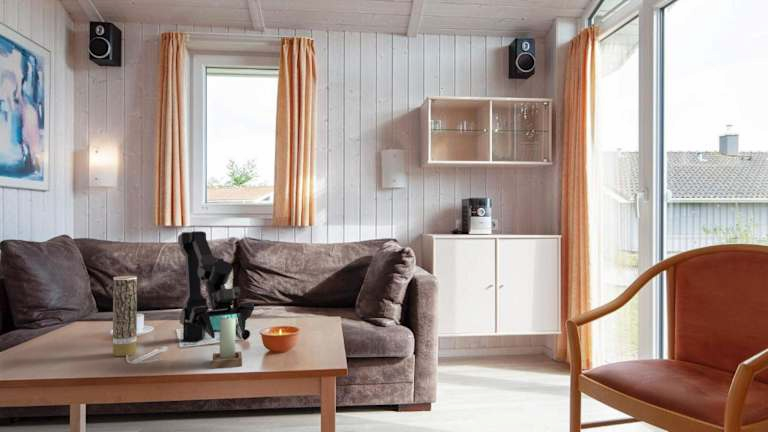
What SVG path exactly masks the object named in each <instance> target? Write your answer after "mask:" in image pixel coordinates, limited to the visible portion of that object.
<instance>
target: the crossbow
mask: <svg viewBox="0 0 768 432" xmlns="http://www.w3.org/2000/svg"><path fill="white" fill-rule="evenodd" d="M166 351H168V346H162V347H161V348H160V349H159V348H155V350H148V351H147V352H148V353H146V354H145V355H142V356H140V357H138V358H135V359H133V360H132V361H130V360H129V358H128V357H129V356H132V354H130V355H129V356H128V355H126V356H125V357H126V358H125V359H126V362H127V363H128V364H133V365H135V364H136V365H137V364H144V363H145V364H146V363H151V362H152V363H153V362H154V363H155V362H159V361H163V357H159V358H154V359H149V358H151V357H153V356H155V355H157V354H161V353H163V352H166ZM144 353H145V351H143V352H141V354H144ZM136 354H139V352H137V353H135V355H136ZM146 359H148V360H146Z"/></svg>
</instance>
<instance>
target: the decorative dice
mask: <svg viewBox="0 0 768 432" xmlns="http://www.w3.org/2000/svg"><path fill="white" fill-rule="evenodd" d="M227 316H228V318H229V317H231V318H236V319H237V320H238V317H237V314H233V315H224V316H211V317H210V322H211V324H212V327H213V330H218V331H217V332H220V319H221V318H227Z"/></svg>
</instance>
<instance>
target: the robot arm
mask: <svg viewBox="0 0 768 432" xmlns="http://www.w3.org/2000/svg"><path fill="white" fill-rule="evenodd" d="M177 244H178V245H179V250H180V252H181V253H182V254H183V255H184V257H185V258H184V259H185V274H186V276H185V277H186V293H187V297H186V298H185V300H184V302H183V303H182V309H181V312H180V315H179V323H180V325H182V326H183V332H182V334H183V335H182V338H183V339H180V340H181V342H185V341H199V342H200V340H201V339H202V340H204V339H205V338H206V333H207V334H208V335H209V336H210V337H211V338H212V339H215V337H216V336H215V335H216V334H215V331H214V330H213V327H212V324H211V322H210V317H211V316H224V315H233V314H236V315H237V323H238V325H239V329H240V332H241V334H242V335H245V334H246V333H245V332H246V325H247V324H246V322H247V319H249V318H250V317H251V316H252V314H253V311H254V310H255V306H254V303H253V302H252V301H243V302H239V304H238V307H232V306H233V305H234V300H236V299H238V298H240V296H241V290H240V287H239V286H233V287H232V288H227V287H226V284H228V281H229V279H230V277H231V274H232V272H233V265H232V264H231V263H230V262H228V261H227V260H226V261H225V260H224V259H225V258H223V257H222V258H217V257H215V256H214V255H213V252H212V249H211V247H210V245H209V241H208V240H207V233H206V231H204V230H203V231H185V232H184V231H182V232H181V234H179V235H177ZM201 281H206V282H205V284H204V286H205V293H207V297H208V301H209V302H208V301H207V298H206V297H204V296H203V294H202V288H201ZM207 303H208V304H207ZM208 305H209V306H208ZM209 307H210V308H211V309H209ZM204 337H205V338H204ZM203 338H204V339H203ZM202 340H201V341H202Z"/></svg>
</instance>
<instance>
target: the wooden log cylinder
mask: <svg viewBox="0 0 768 432" xmlns="http://www.w3.org/2000/svg"><path fill="white" fill-rule="evenodd" d="M112 283H113V284H112V285H113V287H112V288H113V289H112V290H113V291H112V304H113V305H112V354H113V356H114V357H126V355H128V357H129V356H132V355H136V352H137V341H138V340H137V339H138V337H137V330H138V328H137V326H138V324H137V322H138V320H137V319H138V318H137V317H138V314H137V313H138V310H137V309H138V307H137V306H138V276H135V275H120V276H114V277H113V282H112ZM130 354H132V355H130Z"/></svg>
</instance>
